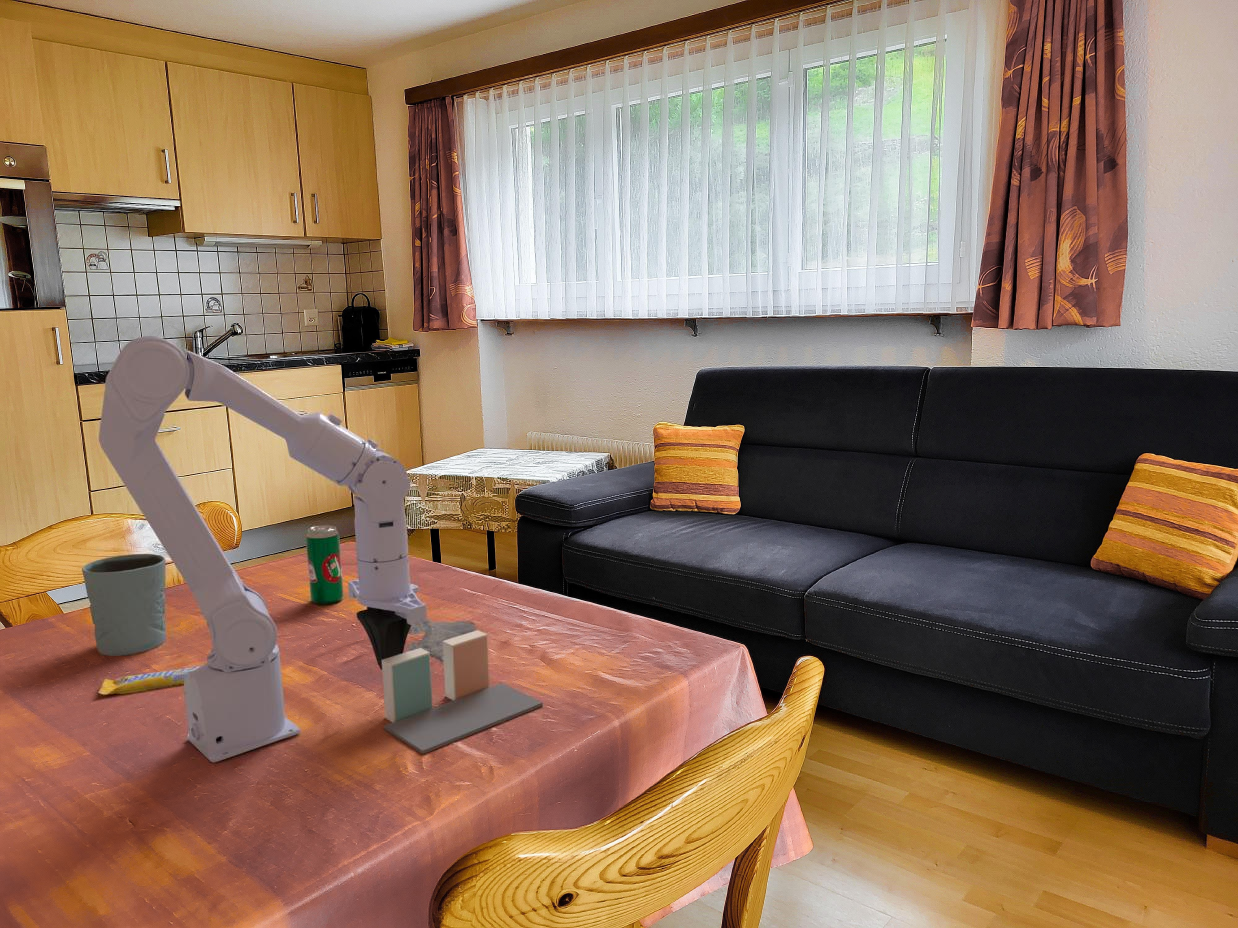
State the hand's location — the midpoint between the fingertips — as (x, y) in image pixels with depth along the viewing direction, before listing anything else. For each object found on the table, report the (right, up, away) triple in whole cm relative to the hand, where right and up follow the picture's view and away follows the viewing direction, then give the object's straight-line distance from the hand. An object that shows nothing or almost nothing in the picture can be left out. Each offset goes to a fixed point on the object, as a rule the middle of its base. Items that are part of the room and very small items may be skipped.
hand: (390, 667), depth 104 cm
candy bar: (-29, -4, +9) cm, 31 cm away
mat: (+9, -5, -3) cm, 11 cm away
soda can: (-20, +2, +39) cm, 44 cm away
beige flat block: (+3, -5, -2) cm, 6 cm away
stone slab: (+2, -2, +20) cm, 21 cm away
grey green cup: (-42, -2, +22) cm, 47 cm away
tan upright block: (+9, -4, +3) cm, 10 cm away
